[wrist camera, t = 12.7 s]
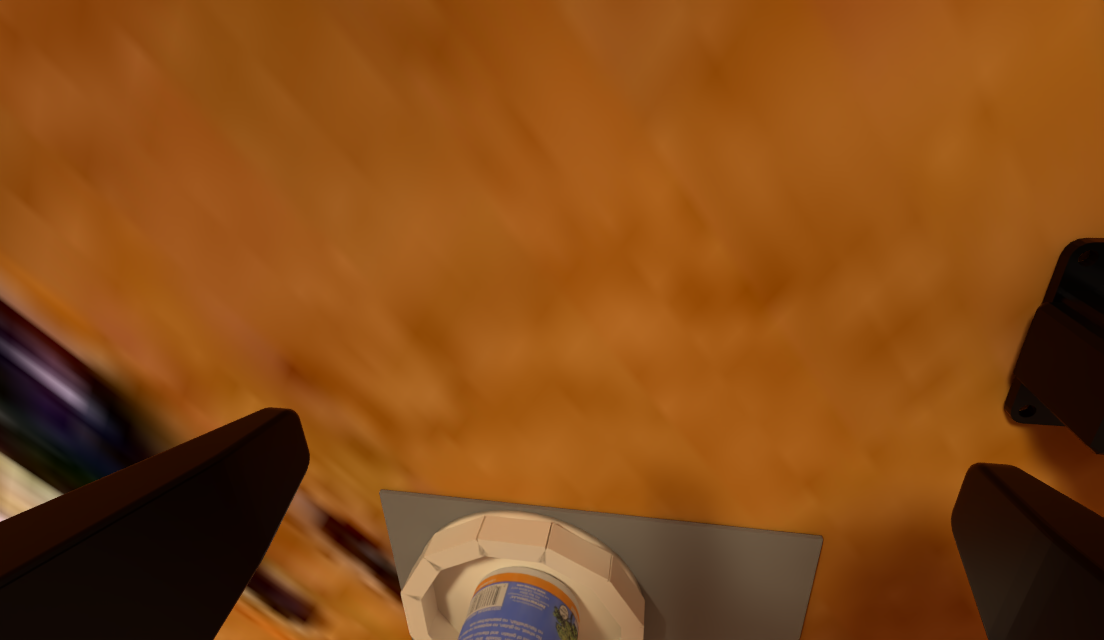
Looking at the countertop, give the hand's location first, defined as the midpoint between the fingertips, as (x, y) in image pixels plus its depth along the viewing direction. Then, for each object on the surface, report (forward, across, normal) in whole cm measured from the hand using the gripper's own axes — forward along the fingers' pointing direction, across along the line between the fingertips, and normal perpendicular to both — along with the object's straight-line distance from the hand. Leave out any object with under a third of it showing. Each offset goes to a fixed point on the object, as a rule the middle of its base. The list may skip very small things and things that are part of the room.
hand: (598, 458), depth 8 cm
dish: (+13, +5, +20) cm, 24 cm away
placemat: (+13, +2, +20) cm, 24 cm away
